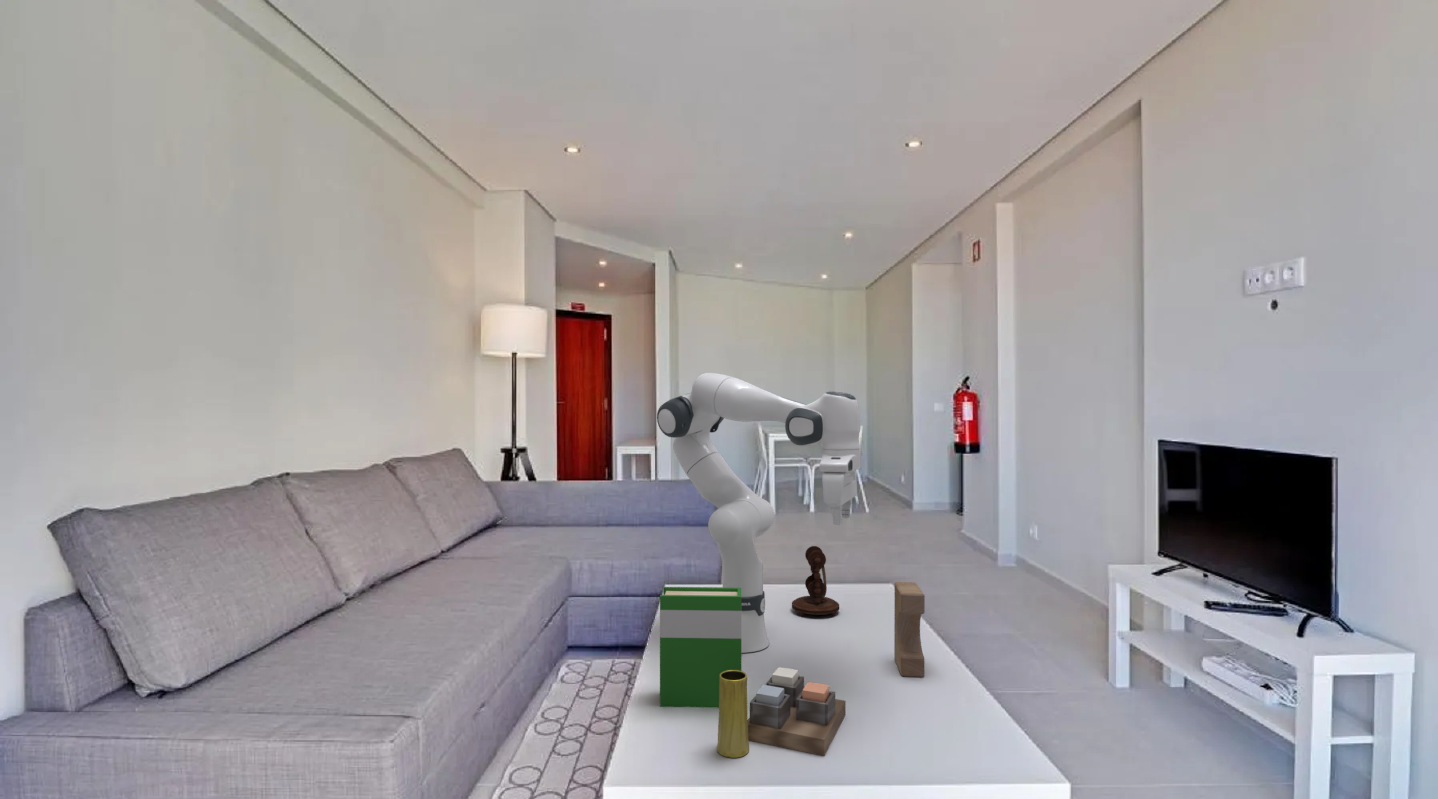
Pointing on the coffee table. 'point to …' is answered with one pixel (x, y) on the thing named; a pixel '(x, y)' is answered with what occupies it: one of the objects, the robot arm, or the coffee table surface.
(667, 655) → the hardback book
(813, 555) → the brown figurine
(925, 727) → the coffee table surface
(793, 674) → the cream button
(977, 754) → the coffee table surface
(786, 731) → the block sorting tray
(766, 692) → the slate button
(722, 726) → the vase
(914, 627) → the decorative block
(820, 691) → the terracotta button
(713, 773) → the coffee table surface
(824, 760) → the coffee table surface
